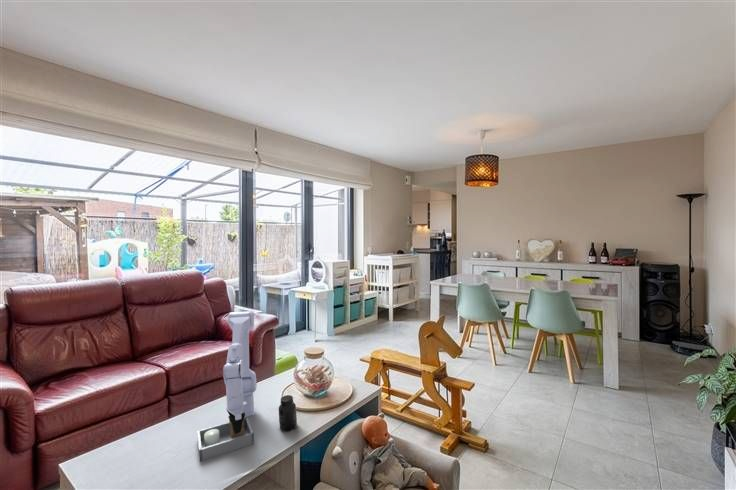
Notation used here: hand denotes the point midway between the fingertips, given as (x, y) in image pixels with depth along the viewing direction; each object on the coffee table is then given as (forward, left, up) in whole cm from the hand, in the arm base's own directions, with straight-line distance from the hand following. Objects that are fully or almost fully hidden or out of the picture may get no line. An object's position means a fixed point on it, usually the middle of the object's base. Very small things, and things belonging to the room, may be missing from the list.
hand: (236, 429), depth 128 cm
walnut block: (0, 0, -2) cm, 2 cm away
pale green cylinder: (0, -8, -4) cm, 9 cm away
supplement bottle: (+2, +19, -5) cm, 20 cm away
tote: (0, -4, -4) cm, 6 cm away
